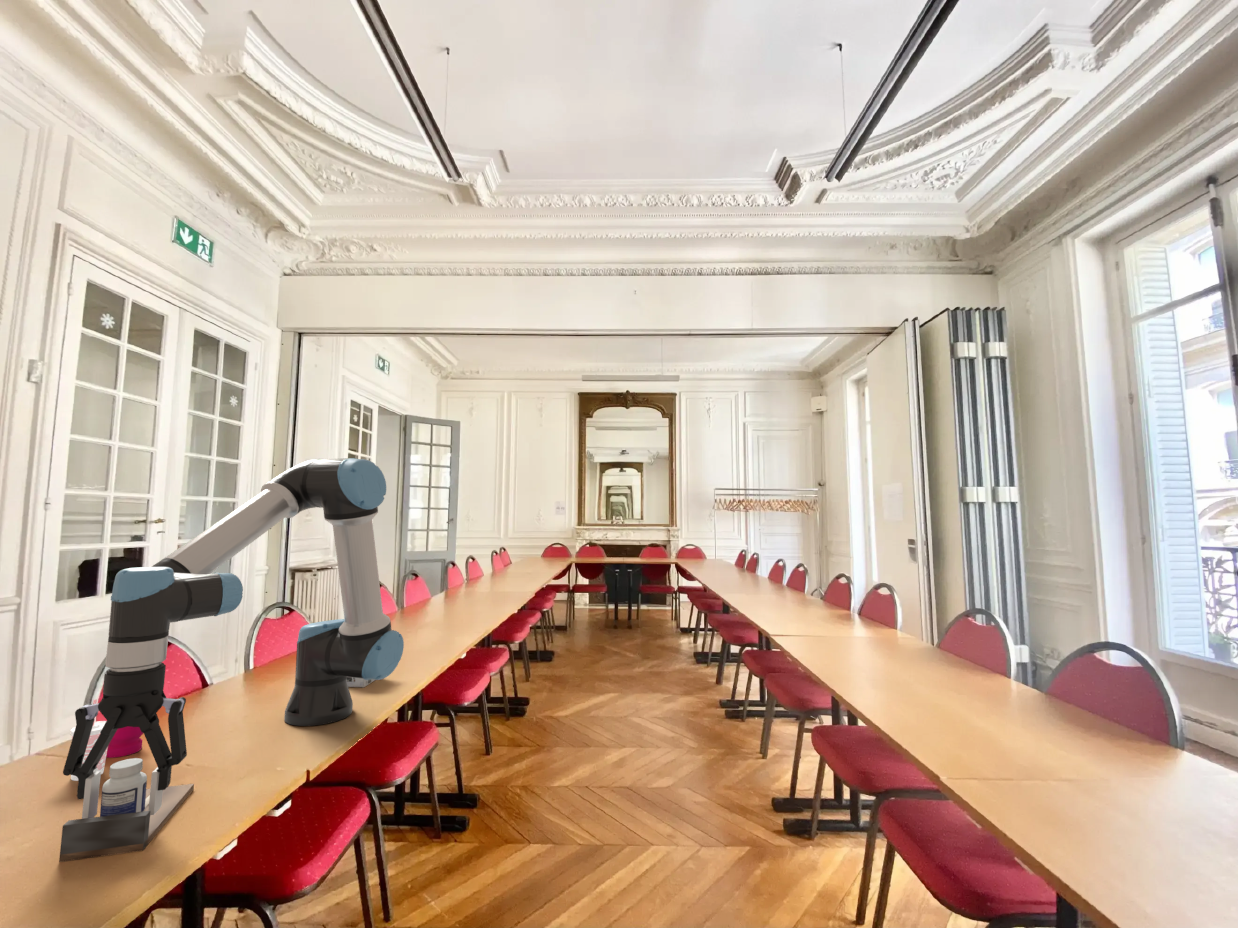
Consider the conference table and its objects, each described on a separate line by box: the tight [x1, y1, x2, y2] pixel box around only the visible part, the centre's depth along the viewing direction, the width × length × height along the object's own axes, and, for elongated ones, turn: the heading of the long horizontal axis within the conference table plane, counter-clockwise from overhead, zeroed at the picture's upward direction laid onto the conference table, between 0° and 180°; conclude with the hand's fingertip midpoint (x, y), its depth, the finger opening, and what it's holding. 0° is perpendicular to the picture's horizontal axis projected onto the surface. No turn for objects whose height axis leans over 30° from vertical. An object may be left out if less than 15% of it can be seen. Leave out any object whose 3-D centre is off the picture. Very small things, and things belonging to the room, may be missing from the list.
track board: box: [58, 783, 195, 863], centre depth 94 cm, size 10×20×5 cm, turn 19°
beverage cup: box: [69, 698, 108, 782], centre depth 110 cm, size 6×6×14 cm
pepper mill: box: [106, 726, 144, 759], centre depth 121 cm, size 7×7×20 cm
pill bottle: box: [99, 757, 148, 817], centre depth 90 cm, size 5×5×10 cm
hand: (122, 814), depth 90 cm, fingers open, 8 cm apart
